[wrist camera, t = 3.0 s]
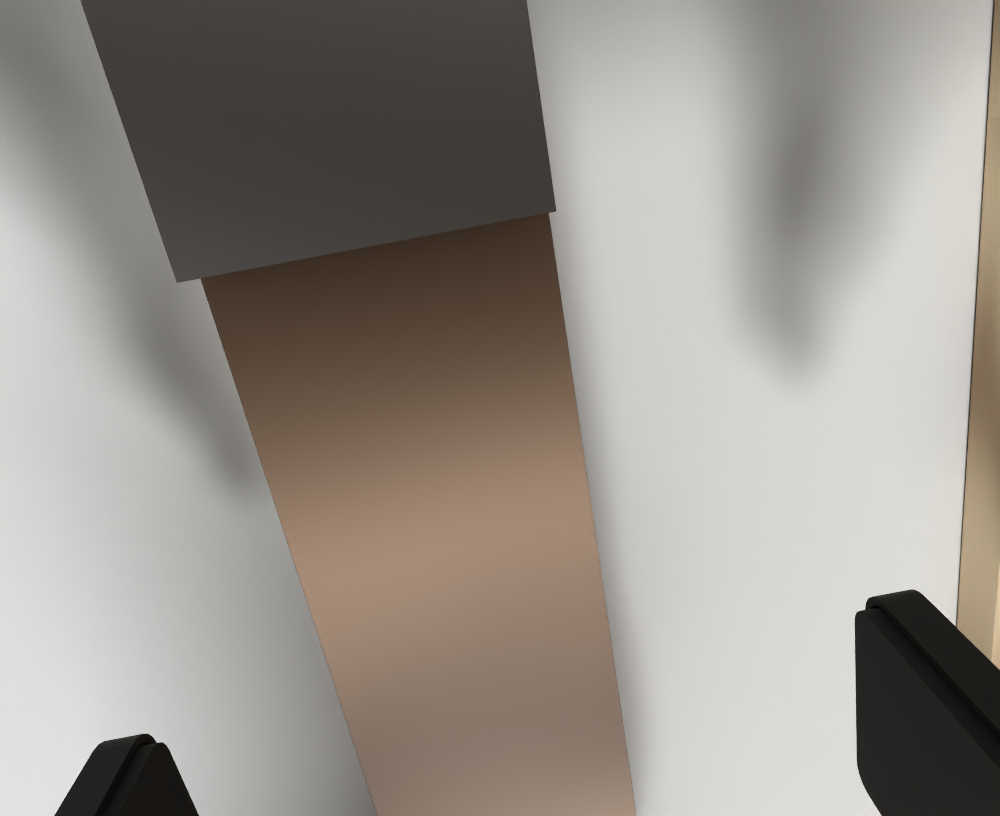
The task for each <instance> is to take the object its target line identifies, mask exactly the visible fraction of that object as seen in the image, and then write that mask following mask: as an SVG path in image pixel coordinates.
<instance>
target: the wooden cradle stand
mask: <svg viewBox="0 0 1000 816" xmlns="http://www.w3.org/2000/svg"><path fill="white" fill-rule="evenodd" d="M957 629H958V630H959V631H960V632H961V633H963V634H964V635H965V636H966V637H967V638H968V639H969V640H970V641H971V642H972V643H973V644H974V645H975V646H976V647H977V648H978V649H979V650H980V651H981V652H982V653H983V654H984V655H985V656H986V657H987V658H988V659H989V660H990V661H991V662H992V663H993V664H994V665H995V666H996V667H997V668H998V669H999V670H1000V0H995V7H994V24H993V40H992V57H991V73H990V90H989V106H988V123H987V139H986V156H985V172H984V189H983V205H982V222H981V238H980V255H979V271H978V288H977V304H976V321H975V337H974V354H973V370H972V387H971V403H970V420H969V436H968V453H967V469H966V486H965V502H964V519H963V535H962V552H961V568H960V585H959V601H958V618H957Z"/></svg>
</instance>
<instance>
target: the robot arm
mask: <svg viewBox="0 0 1000 816" xmlns="http://www.w3.org/2000/svg"><path fill="white" fill-rule="evenodd" d="M855 661H856V730H857V766H858V770H859V774H860V777H861V780H862V782H863V785H864V787H865V789H866V791H867V793H868V795H869V796H870V798H871V799H872V801H873V802H874V804H875V806H876V807H877V809H878V810H879V812H880V814H881V815H882V816H1000V670H999V669H998V668H997V667H996V666H995V665H994V664H993V663H992V662H991V661H990V660H989V659H988V658H987V657H986V656H985V655H984V654H983V653H982V652H981V651H980V650H979V649H978V648H977V647H976V646H975V645H974V644H973V643H972V642H971V641H970V640H969V639H968V638H967V637H966V636H965V635H964V634H963V633H961V632H960V631H959V630H958V629H957V628H956V627H955V626H954V625H953V624H952V623H951V622H950V621H949V620H948V619H947V618H946V617H945V616H944V615H943V614H942V613H941V612H940V611H939V610H938V609H937V608H936V607H935V606H934V605H933V604H932V603H931V602H930V601H929V600H928V599H927V598H926V597H925V596H924V595H922V594H921V593H920V592H918V591H916V590H906V591H901V592H896V593H891V594H885V595H880V596H875V597H871V598H869V599H868V600H867V602H866V609H865V610H863V611H859V612H857V613H856V615H855ZM55 816H199V815H198V813H197V810H196V808H195V806H194V804H193V802H192V799H191V797H190V795H189V793H188V791H187V788H186V786H185V784H184V782H183V780H182V777H181V775H180V773H179V771H178V768H177V766H176V764H175V762H174V760H173V757H172V755H171V753H170V751H169V749H168V747H167V746H166V745H165V744H164V743H156V741H155V740H154V738H153V737H152V736H150V735H149V734H140V735H135V736H130V737H124V738H119V739H114V740H109V741H104V742H102V743H101V744H99V745H98V746H97V747H96V748H95V750H94V751H93V752H92V754H91V756H90V757H89V759H88V761H87V762H86V764H85V766H84V767H83V769H82V771H81V772H80V774H79V776H78V777H77V779H76V781H75V782H74V784H73V786H72V787H71V789H70V791H69V792H68V794H67V796H66V797H65V799H64V801H63V802H62V804H61V806H60V807H59V809H58V811H57V812H56V814H55Z"/></svg>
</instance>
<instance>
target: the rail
mask: <svg viewBox="0 0 1000 816" xmlns="http://www.w3.org/2000/svg"><path fill="white" fill-rule="evenodd" d="M81 3H82V6H83V9H84V12H85V15H86V18H87V21H88V24H89V27H90V30H91V33H92V36H93V38H94V41H95V44H96V47H97V50H98V53H99V56H100V59H101V62H102V65H103V68H104V71H105V74H106V77H107V79H108V82H109V85H110V88H111V91H112V94H113V97H114V100H115V103H116V106H117V109H118V112H119V115H120V117H121V120H122V123H123V126H124V129H125V132H126V135H127V138H128V141H129V144H130V147H131V150H132V153H133V155H134V158H135V161H136V164H137V167H138V170H139V173H140V176H141V179H142V182H143V185H144V188H145V191H146V194H147V196H148V199H149V202H150V205H151V208H152V211H153V214H154V217H155V220H156V223H157V226H158V229H159V232H160V234H161V237H162V240H163V243H164V246H165V249H166V252H167V255H168V258H169V261H170V264H171V267H172V270H173V273H174V275H175V278H176V281H177V283H178V282H183V281H189V280H194V279H199V278H201V281H202V284H203V287H204V291H205V294H206V297H207V300H208V303H209V306H210V309H211V312H212V315H213V318H214V321H215V324H216V327H217V330H218V333H219V336H220V339H221V342H222V345H223V348H224V351H225V354H226V357H227V360H228V363H229V366H230V370H231V373H232V376H233V379H234V382H235V385H236V388H237V391H238V394H239V397H240V400H241V403H242V406H243V409H244V412H245V415H246V418H247V421H248V424H249V427H250V430H251V433H252V436H253V439H254V442H255V446H256V449H257V452H258V455H259V458H260V461H261V464H262V467H263V470H264V473H265V476H266V479H267V482H268V485H269V488H270V491H271V494H272V497H273V500H274V503H275V506H276V509H277V512H278V515H279V518H280V522H281V525H282V528H283V531H284V534H285V537H286V540H287V543H288V546H289V549H290V552H291V555H292V558H293V561H294V564H295V567H296V570H297V573H298V576H299V579H300V582H301V585H302V588H303V591H304V594H305V597H306V601H307V604H308V607H309V610H310V613H311V616H312V619H313V622H314V625H315V628H316V631H317V634H318V637H319V640H320V643H321V646H322V649H323V652H324V655H325V658H326V661H327V664H328V667H329V670H330V673H331V677H332V680H333V683H334V686H335V689H336V692H337V695H338V698H339V701H340V704H341V707H342V710H343V713H344V716H345V719H346V722H347V725H348V728H349V731H350V734H351V737H352V740H353V743H354V746H355V749H356V753H357V756H358V759H359V762H360V765H361V768H362V771H363V774H364V777H365V780H366V783H367V786H368V789H369V792H370V795H371V798H372V801H373V804H374V807H375V810H376V813H377V816H636V810H635V803H634V796H633V789H632V782H631V775H630V769H629V762H628V755H627V748H626V741H625V734H624V727H623V720H622V714H621V707H620V700H619V693H618V686H617V679H616V672H615V665H614V659H613V652H612V645H611V638H610V631H609V624H608V617H607V611H606V604H605V597H604V590H603V583H602V576H601V569H600V562H599V556H598V549H597V542H596V535H595V528H594V521H593V514H592V507H591V501H590V494H589V487H588V480H587V473H586V466H585V459H584V452H583V446H582V439H581V432H580V425H579V418H578V411H577V404H576V397H575V391H574V384H573V377H572V370H571V363H570V356H569V349H568V343H567V336H566V329H565V322H564V315H563V308H562V301H561V294H560V288H559V281H558V274H557V267H556V260H555V253H554V246H553V239H552V233H551V226H550V219H549V213H550V212H555V211H556V206H555V199H554V192H553V185H552V178H551V171H550V164H549V157H548V150H547V143H546V136H545V129H544V121H543V114H542V107H541V100H540V93H539V86H538V79H537V72H536V65H535V58H534V51H533V44H532V37H531V30H530V23H529V16H528V9H527V1H526V0H81Z"/></svg>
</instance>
